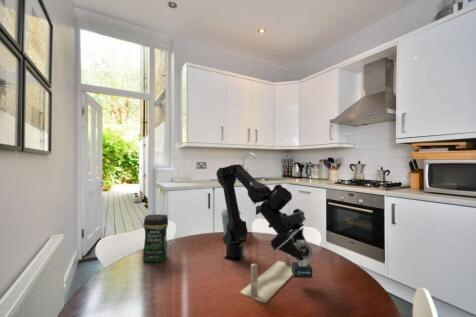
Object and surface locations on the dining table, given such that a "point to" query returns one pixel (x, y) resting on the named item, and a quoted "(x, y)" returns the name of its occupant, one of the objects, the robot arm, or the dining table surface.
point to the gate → (268, 280)
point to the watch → (303, 261)
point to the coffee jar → (155, 238)
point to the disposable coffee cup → (225, 219)
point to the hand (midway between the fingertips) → (306, 255)
